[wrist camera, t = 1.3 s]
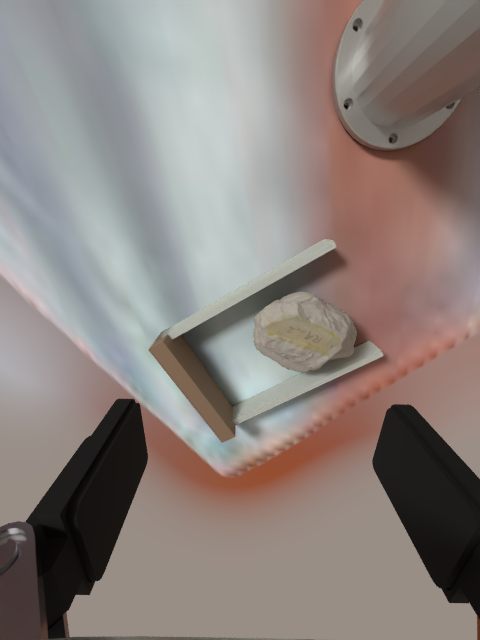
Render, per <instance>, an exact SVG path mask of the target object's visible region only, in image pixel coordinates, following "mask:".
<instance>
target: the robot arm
mask: <svg viewBox="0 0 480 640" xmlns="http://www.w3.org/2000/svg"><path fill="white" fill-rule="evenodd" d="M353 29H354V30H355V31H354V30H353ZM478 88H480V0H363V1H362V2H361V3H360V5H359V6H358V7H357V9H356V10H355V12H354V14H353V15H352V17H351V19H350V21H349V22H348V24H347V26H346V28H345V30H344V32H343V34H342V36H341V39H340V42H339V45H338V48H337V51H336V54H335V59H334V65H333V71H332V92H333V99H334V105H335V108H336V111H337V114H338V117H339V119H340V121H341V122H342V124H343V126H344V128H345V129H346V130H347V132H348V133H349V134H350V135H351V136H352V137H353V138H354V139H355V140H357V141H358V142H359V143H361V144H362V145H364V146H367V147H369V148H371V149H376V150H382V151H388V150H398V149H401V148H405V147H408V146H410V145H412V144H415V143H417V142H419V141H421V140H422V139H424V138H426V137H427V136H429V135H431V134H432V133H433V132H434V131H435V130H437V129H438V128H439V127H440V126H441V125H443V123H444V122H445V121H446V120H447V119H448V118H449V117H450V115H451V114H452V113H453V112H454V110H455V109H456V107H457V106H458V104H459V103H460V101H461V100H462V98H463V97H464V96H466V95H468V94H469V93H471V92H473V91H475V90H476V89H478ZM344 105H346V106H347V109H345V108H344ZM389 139H390V142H389ZM147 460H148V453H147V447H146V442H145V434H144V428H143V421H142V416H141V409H140V404H139V403H136V402H135V400H134V399H117V400H116V401H115V403H114V404H113V405H112V407H111V408H110V410H109V411H108V413H107V414H106V415H105V417H104V418H103V420H102V421H101V422H100V424H99V425H98V427H97V428H96V430H95V431H94V432H93V434H92V435H91V436H89V437H88V438H86V439H85V440H84V441H83V443H82V444H81V445H80V447H79V448H78V450H77V451H76V452H75V454H74V455H73V456H72V458H71V459H70V461H69V462H68V463H67V465H66V466H65V468H64V469H63V470H62V472H61V473H60V475H59V476H58V477H57V479H56V480H55V481H54V483H53V484H52V486H51V487H50V488H49V490H48V491H47V493H46V494H45V496H44V497H43V498H42V500H41V501H40V502H39V504H38V505H37V507H36V508H35V509H34V511H33V512H32V513H31V515H30V516H29V518H28V519H27V520H26V522H20V521H18V522H13V523H8V524H6V525H4V526H1V527H0V640H311V639H266V638H210V637H208V638H207V637H148V636H134V637H133V636H130V637H128V636H127V637H69V629H68V621H67V614H66V611H68V610H69V608H70V606H71V603H72V602H73V599H74V597H75V595H90V593H91V590H92V588H93V585H94V583H95V581H99V580H100V579H101V578H102V576H103V574H104V572H105V569H106V567H107V564H108V562H109V559H110V556H111V554H112V551H113V549H114V546H115V544H116V541H117V539H118V536H119V534H120V531H121V528H122V526H123V523H124V520H125V518H126V516H127V513H128V510H129V508H130V505H131V503H132V500H133V498H134V495H135V493H136V490H137V488H138V485H139V483H140V480H141V477H142V475H143V472H144V470H145V467H146V464H147ZM373 467H374V470H375V472H376V474H377V476H378V478H379V480H380V482H381V484H382V486H383V488H384V489H385V491H386V493H387V495H388V497H389V499H390V501H391V503H392V504H393V506H394V508H395V510H396V512H397V514H398V516H399V518H400V520H401V522H402V523H403V525H404V527H405V529H406V531H407V533H408V535H409V537H410V539H411V540H412V542H413V544H414V546H415V548H416V550H417V552H418V553H419V555H420V558H421V559H422V561H423V563H424V565H425V567H426V569H427V571H428V573H429V574H430V576H431V578H432V580H433V582H434V583H435V584H436V586H438V587H439V588H442V590H443V592H444V594H445V596H446V597H447V600H448V601H449V603H469V602H470V604H471V606H472V607H473V609H474V611H475V613H476V614H477V640H480V479H479V478H478V477H477V476H476V475H475V473H474V472H472V470H471V469H470V468H469V467H468V466H467V465H466V464H465V463H464V461H463V460H462V459H461V458H460V457H459V456H458V455H457V454H456V453H455V452H454V451H453V450H452V448H451V447H450V446H449V445H448V444H447V443H446V442H445V441H444V440H443V439H442V438H441V437H440V435H439V434H438V433H437V432H436V431H435V430H434V429H433V428H432V427H431V426H430V425H429V423H428V422H427V421H426V420H425V419H424V418H423V417H422V416H421V415H420V414H419V413H418V411H417V410H416V409H415V408H414V407H413V406H411V405H392V406H391V408H389V409H388V410H387V412H386V415H385V419H384V422H383V426H382V429H381V432H380V436H379V440H378V443H377V447H376V450H375V453H374V457H373ZM312 640H313V639H312Z"/></svg>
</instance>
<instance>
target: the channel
mask: <svg viewBox="0 0 480 640" xmlns="http://www.w3.org/2000/svg"><path fill="white" fill-rule="evenodd" d="M334 248H336V245H335V243H334V240H328V239H323V240H322V241H320V242H318V243H316V244H315V245H313V246H311V247H309V248H308V249H306V250H304V251H302V252H301V253H299V254H297V255H295V256H294V257H292V258H290V259H288V260H287V261H285V262H283V263H281V264H280V265H278V266H276V267H274V268H273V269H271V270H269V271H267V272H266V273H264V274H262V275H261V276H259V277H257V278H255V279H254V280H252V281H250V282H248V283H247V284H245V285H243V286H241V287H240V288H238V289H236V290H234V291H233V292H231V293H229V294H227V295H226V296H224V297H222V298H220V299H219V300H217V301H215V302H213V303H212V304H210V305H208V306H206V307H205V308H203V309H201V310H199V311H198V312H196V313H194V314H193V315H191V316H189V317H187V318H186V319H184V320H182V321H180V322H179V323H177V324H175V325H173V326H172V327H170V328H168V329H166V330H165V331H163V332H161V334H160V335H159V336H158V338H157V339H156V340H155V342H154V343H153V345H152V346H151V347H150V349H149V351H150V352H151V354H152V355H153V356H154V357H155V359H156V360H157V361H158V363H159V364H160V365H161V366H162V368H163V369H164V370H165V371H166V373H167V374H168V375H169V376H170V378H171V379H172V380H173V381H174V383H175V384H176V385H177V386H178V388H179V389H180V390H181V392H182V393H183V394H184V395H185V397H186V398H187V399H188V400H189V402H190V403H191V404H192V405H193V407H194V408H195V409H196V410H197V412H198V413H199V414H200V416H201V417H202V418H203V419H204V421H205V422H206V423H207V424H208V426H209V427H210V428H211V429H212V431H213V432H214V433H215V434H216V436H217V437H218V438H219V440H220V441H221V442H225V441H227V440H229V439H231V438H233V437H235V425H237V424H239V423H241V422H243V421H245V420H248V419H250V418H252V417H254V416H256V415H258V414H260V413H263V412H265V411H267V410H269V409H271V408H273V407H275V406H277V405H280V404H282V403H284V402H286V401H288V400H290V399H292V398H295V397H297V396H299V395H301V394H303V393H305V392H307V391H310V390H312V389H314V388H316V387H318V386H320V385H322V384H325V383H327V382H329V381H331V380H333V379H335V378H337V377H340V376H342V375H344V374H346V373H348V372H350V371H352V370H355V369H357V368H359V367H361V366H363V365H365V364H367V363H369V362H372V361H374V360H376V359H378V358H380V357H382V356H383V353H382V351H381V350H380V349H379V348H378V347H376V346H375V345H374V344H373V343H372V342H371V341H370V340H369V341H367V342H365V343H363V344H361V345H359V346H357V347H355V348H354V353H353V354H351V356H349V357H345V358H336V359H332V360H329V361H327V362H326V363H325V364H323V365H322V367H321V368H319V369H316V370H309V371H307V372H305V373H304V372H303V373H301V374H299V375H297V376H295V377H293V378H290V379H288V380H286V381H284V382H282V383H280V384H278V385H276V386H274V387H272V388H270V389H268V390H266V391H264V392H262V393H259V394H257V395H255V396H253V397H251V398H249V399H247V400H245V401H243V402H241V403H239V404H237V405H235V406H232V404H231V403H230V402H229V400H228V399H227V398H226V396H225V395H224V393H223V392H222V391H221V389H220V388H219V386H218V385H217V384H216V382H215V381H214V380H213V378H212V377H211V375H210V374H209V373H208V371H207V370H206V369H205V367H204V366H203V364H202V363H201V362H200V360H199V359H198V358H197V356H196V355H195V353H194V352H193V351H192V349H191V348H190V346H189V345H188V344H187V342H186V341H185V340H184V338H183V337H182V335H181V334H183V333H185V332H187V331H188V330H190V329H192V328H194V327H196V326H197V325H199V324H201V323H203V322H204V321H206V320H208V319H210V318H212V317H213V316H215V315H217V314H219V313H220V312H222V311H224V310H226V309H228V308H229V307H231V306H233V305H235V304H236V303H238V302H240V301H242V300H244V299H245V298H247V297H249V296H251V295H252V294H254V293H256V292H258V291H260V290H261V289H263V288H265V287H267V286H268V285H270V284H272V283H274V282H276V281H277V280H279V279H281V278H283V277H284V276H286V275H288V274H290V273H292V272H293V271H295V270H297V269H299V268H300V267H302V266H304V265H306V264H308V263H309V262H311V261H313V260H315V259H316V258H318V257H320V256H322V255H324V254H325V253H327V252H329V251H331V250H332V249H334Z"/></svg>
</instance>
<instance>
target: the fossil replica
mask: <svg viewBox="0 0 480 640" xmlns="http://www.w3.org/2000/svg"><path fill="white" fill-rule="evenodd" d="M254 323H255V328H254V343H255V346H256V349H257V350H259V351H260V352H261V353H262V354H263V355H265V356H267V357H269V358H271V359H272V360H274V361H276V362H277V363H279V364H280V365H281V366H283V367H285V368H287V369H288V370H289V369H291V370H294V371H300V372H304V373H305V372H307V371H309V370H316V369H319V368H321V367H322V365H323V364H325V363H326V362H327V361H329V360H332V359H336V358H345V357H349V356H351V354H353V353H354V343H355V341H356V335H357V332H356V328H355V327H354V325H355V324H354V323H353V320H352V318H351V317H350V316H348V315H347V314H346V312H343V311H342V310H341V309H339V308H338V307H336V306H333V305H331V304H329V303H327V302H324V300H322V299H319V298H317V297H316V295H314V294H312V293H308V292H296V293H293V294H289V295H287V296H284V297H283V298H282V299H281V300H275V301H273V302H272V303H271V304H269V305H267V306H266V307H265V308H264V309H263V310H262V311H260V312H259V313H258V314H257V315H256V316H255V319H254Z"/></svg>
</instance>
